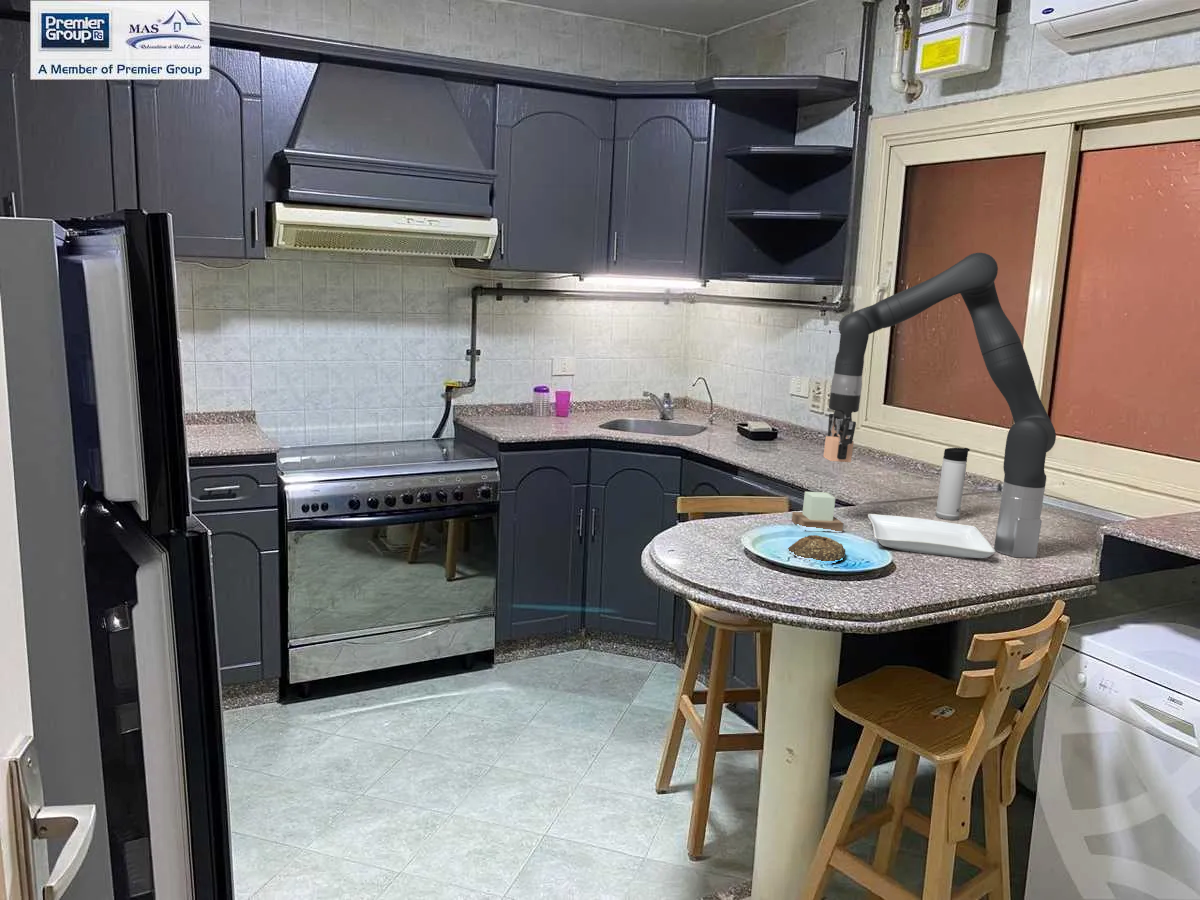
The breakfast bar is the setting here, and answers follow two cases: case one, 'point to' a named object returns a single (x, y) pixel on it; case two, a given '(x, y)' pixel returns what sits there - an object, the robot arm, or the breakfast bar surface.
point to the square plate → (930, 536)
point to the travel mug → (951, 483)
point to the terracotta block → (836, 450)
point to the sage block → (818, 506)
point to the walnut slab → (816, 522)
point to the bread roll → (818, 548)
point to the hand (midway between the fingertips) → (837, 456)
